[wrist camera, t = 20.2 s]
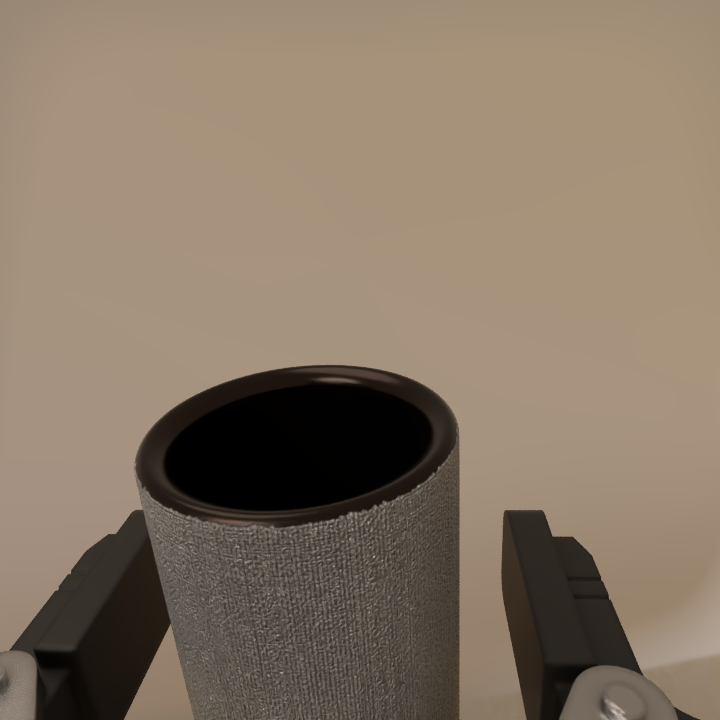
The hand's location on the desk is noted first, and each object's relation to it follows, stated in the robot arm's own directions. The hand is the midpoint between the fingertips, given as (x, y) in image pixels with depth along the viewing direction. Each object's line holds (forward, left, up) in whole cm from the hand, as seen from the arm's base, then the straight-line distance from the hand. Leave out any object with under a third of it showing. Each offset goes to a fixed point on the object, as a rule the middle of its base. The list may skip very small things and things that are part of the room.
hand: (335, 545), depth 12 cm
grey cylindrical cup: (+1, -2, -6) cm, 7 cm away
